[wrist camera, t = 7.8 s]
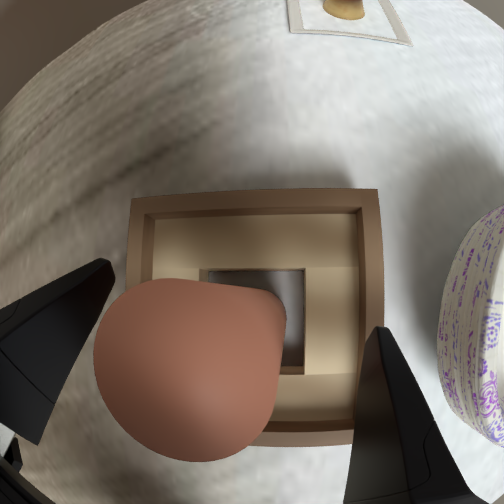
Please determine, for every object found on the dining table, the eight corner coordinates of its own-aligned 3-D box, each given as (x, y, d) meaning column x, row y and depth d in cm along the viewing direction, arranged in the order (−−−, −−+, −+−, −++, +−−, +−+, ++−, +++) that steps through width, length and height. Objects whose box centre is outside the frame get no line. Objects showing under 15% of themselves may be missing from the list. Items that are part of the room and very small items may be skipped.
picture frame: (359, 418, 16) (372, 441, 12) (156, 408, 18) (133, 426, 14) (362, 207, 18) (377, 189, 14) (156, 213, 19) (131, 198, 16)
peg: (260, 360, 17) (197, 488, 4) (213, 323, 18) (70, 371, 5) (299, 313, 17) (322, 369, 5) (250, 276, 18) (157, 237, 5)
